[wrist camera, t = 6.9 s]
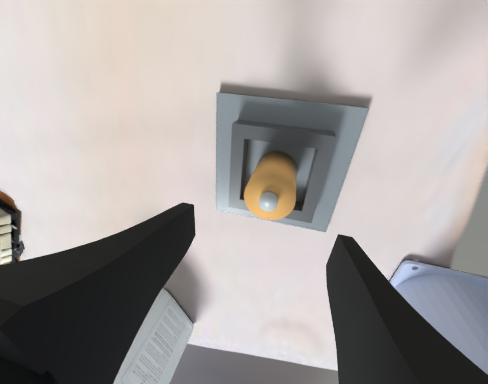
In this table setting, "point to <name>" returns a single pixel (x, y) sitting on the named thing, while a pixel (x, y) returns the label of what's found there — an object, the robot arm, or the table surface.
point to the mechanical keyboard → (9, 231)
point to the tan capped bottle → (272, 186)
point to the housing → (289, 141)
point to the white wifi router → (157, 344)
